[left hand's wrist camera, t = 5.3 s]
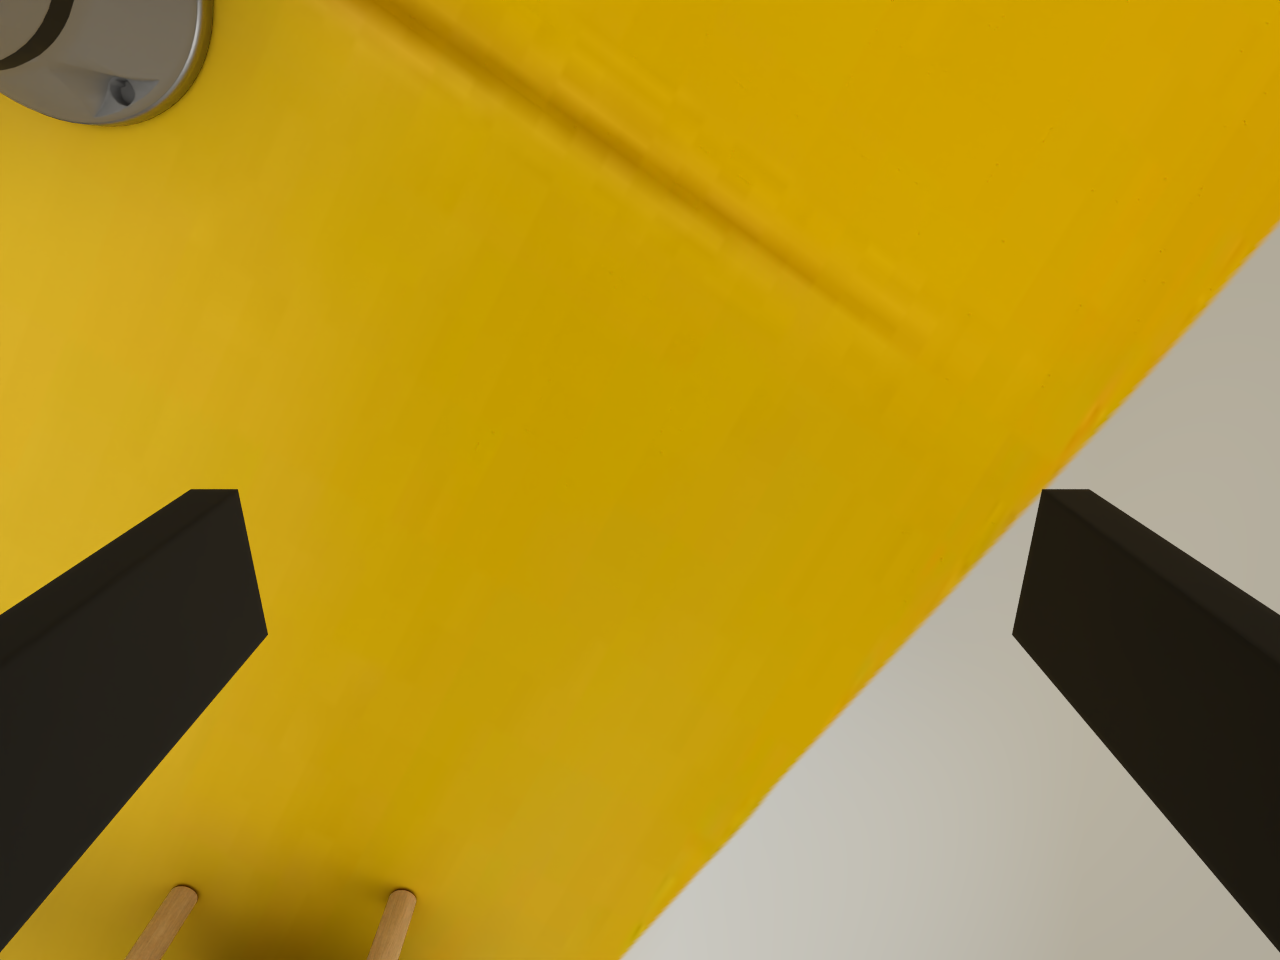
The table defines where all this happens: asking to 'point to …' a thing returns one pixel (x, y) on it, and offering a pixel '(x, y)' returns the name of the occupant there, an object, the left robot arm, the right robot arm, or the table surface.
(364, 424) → the table surface
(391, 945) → the planter
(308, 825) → the table surface
